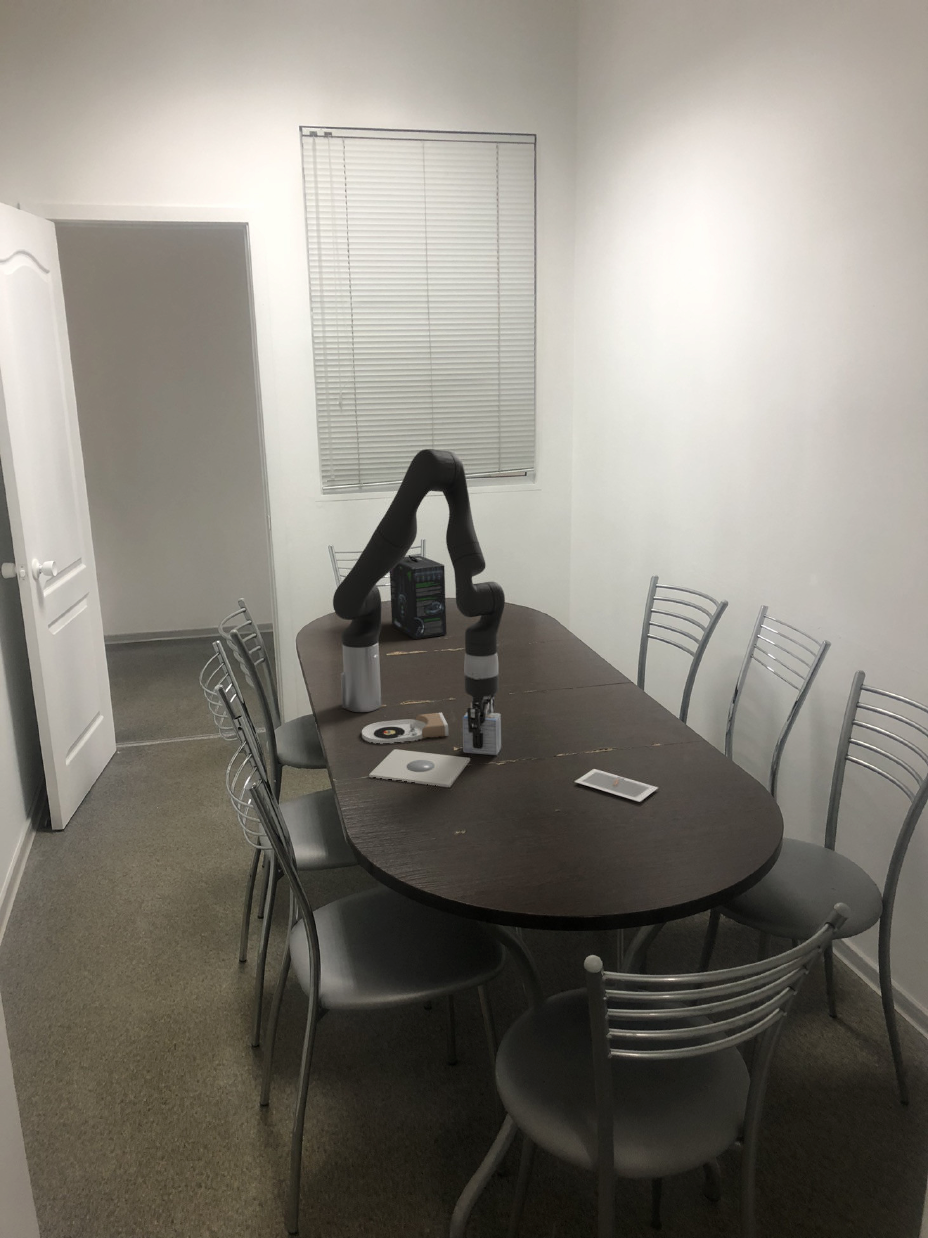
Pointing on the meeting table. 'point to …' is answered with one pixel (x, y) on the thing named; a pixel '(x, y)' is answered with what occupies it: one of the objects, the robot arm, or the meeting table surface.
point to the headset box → (418, 597)
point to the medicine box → (484, 735)
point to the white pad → (420, 767)
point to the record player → (406, 729)
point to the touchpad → (616, 785)
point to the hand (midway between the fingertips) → (482, 742)
